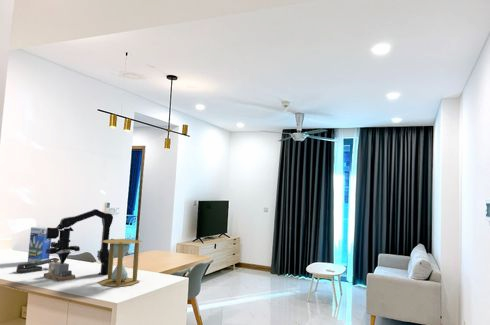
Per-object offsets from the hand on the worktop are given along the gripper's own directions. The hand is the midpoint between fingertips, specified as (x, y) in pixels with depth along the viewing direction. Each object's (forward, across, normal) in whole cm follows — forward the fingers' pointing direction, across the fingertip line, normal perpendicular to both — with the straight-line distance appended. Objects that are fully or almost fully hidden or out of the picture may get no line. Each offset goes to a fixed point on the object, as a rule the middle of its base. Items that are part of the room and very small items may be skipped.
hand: (62, 263), depth 219 cm
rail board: (+9, 0, -2) cm, 9 cm away
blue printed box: (+9, -14, -57) cm, 59 cm away
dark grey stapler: (+9, -1, -32) cm, 33 cm away
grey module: (+7, 0, 0) cm, 7 cm away
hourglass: (+9, -17, +34) cm, 39 cm away
